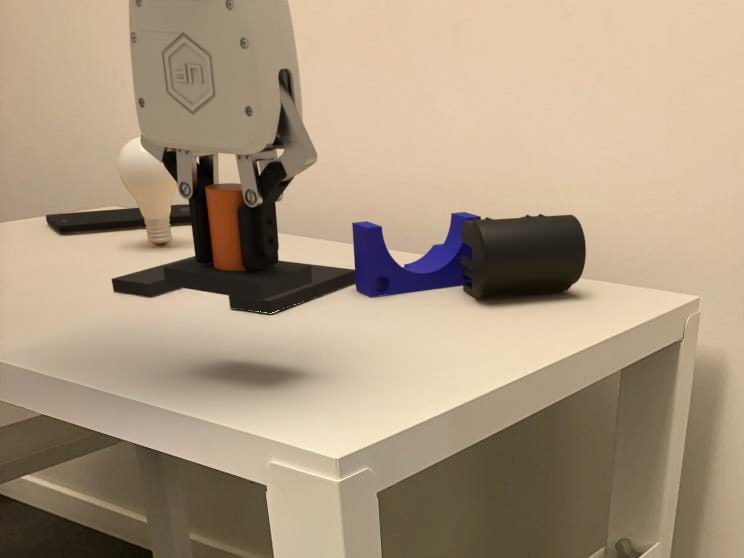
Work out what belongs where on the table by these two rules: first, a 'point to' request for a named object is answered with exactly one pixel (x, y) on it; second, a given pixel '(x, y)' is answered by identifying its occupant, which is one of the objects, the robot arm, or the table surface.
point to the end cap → (522, 255)
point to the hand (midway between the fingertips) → (237, 260)
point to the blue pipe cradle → (428, 272)
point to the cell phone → (110, 219)
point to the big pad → (322, 283)
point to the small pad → (239, 279)
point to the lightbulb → (148, 189)
